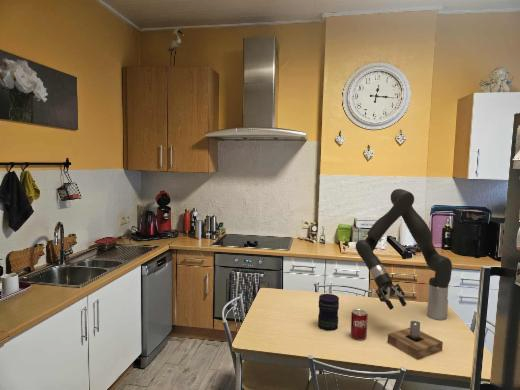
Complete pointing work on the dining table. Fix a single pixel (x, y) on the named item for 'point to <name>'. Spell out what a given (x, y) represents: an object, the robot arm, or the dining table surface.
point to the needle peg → (414, 331)
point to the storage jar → (328, 312)
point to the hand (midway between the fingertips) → (398, 307)
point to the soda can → (359, 324)
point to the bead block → (415, 343)
